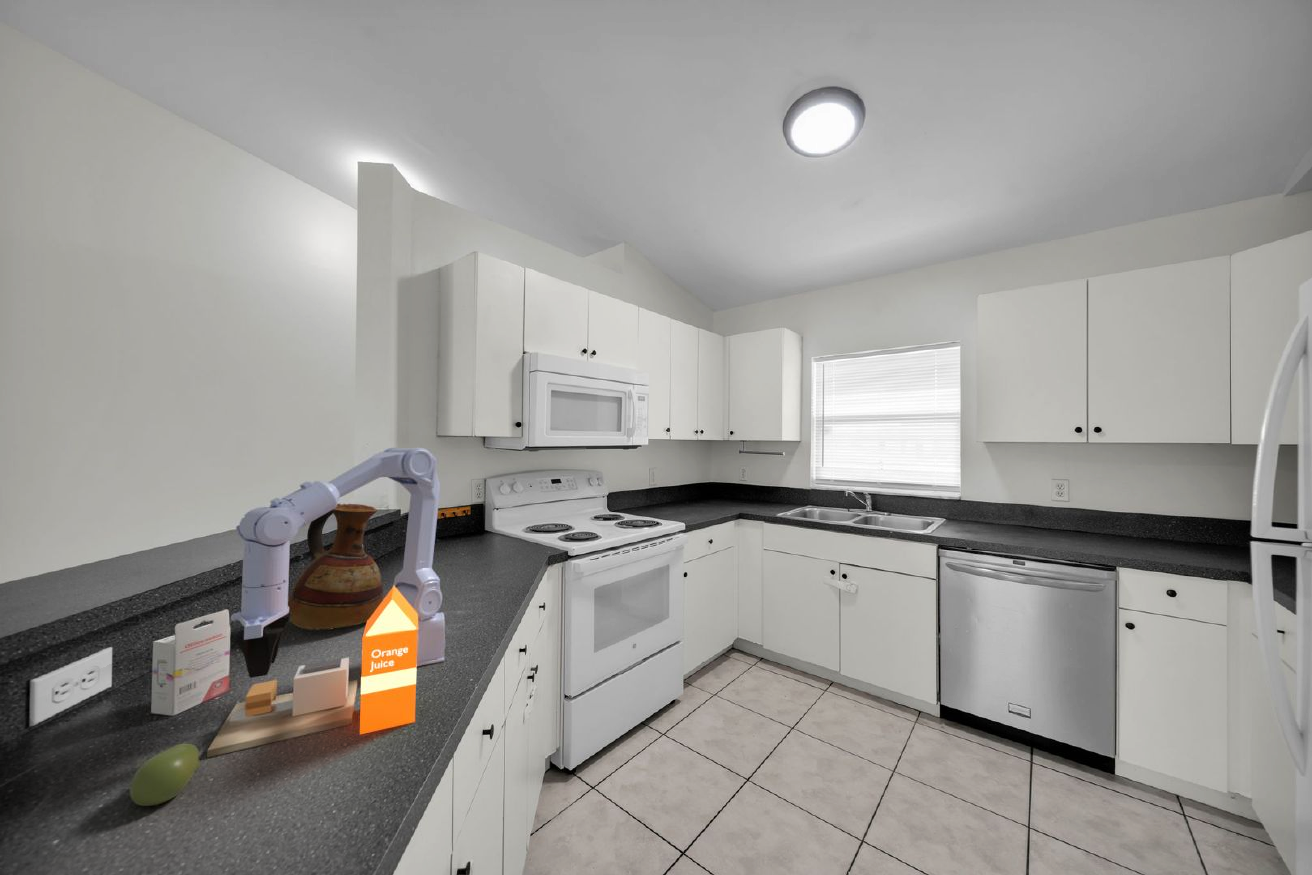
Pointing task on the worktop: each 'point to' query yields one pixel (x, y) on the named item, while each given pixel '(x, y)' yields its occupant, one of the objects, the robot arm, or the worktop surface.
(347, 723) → the mounting board
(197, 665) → the ink cartridge box
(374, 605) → the ceramic pitcher
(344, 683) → the block
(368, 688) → the orange juice
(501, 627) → the worktop surface
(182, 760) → the olive green oval piece
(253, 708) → the block
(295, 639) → the worktop surface
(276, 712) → the steel rail
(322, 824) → the worktop surface
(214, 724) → the worktop surface
